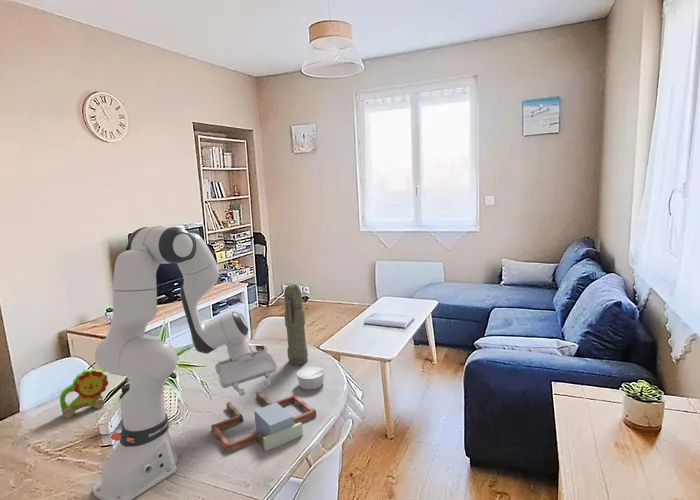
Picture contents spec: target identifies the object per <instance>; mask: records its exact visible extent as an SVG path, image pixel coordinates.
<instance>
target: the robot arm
mask: <svg viewBox="0 0 700 500" xmlns="http://www.w3.org/2000/svg"><path fill="white" fill-rule="evenodd" d="M126 243H127V244H126V247H125V251H123V252H121V253H120V254H119V255H118V256H117V257H116V259H115V260H116V261H115V266H114V271H113V277H112V278H113V280H112V316H111V317H112V319H111V323H110V327H109V330H108V333H107V334H106V336H105V338H103V340H102V341H101V342H99V343H98V345H97V346H96V349H95V353H94V362H95V363H96V365H97V367H98V368H100V370H101V369H102V370H103V371H104V372H107V373H109V374H111V375H115V376H121V377H127V378H128V380H129V383H130V389H129V391H128V392H127V393H126V394H125V395H124V396H123V397H122V399H121V403H120V402H119V404H121V406H120V412H121V411H122V414H121V418H122V417H123V419H122V423H123V425H122V427H121V433H120V432H116V431H113V433H111V435H110V439H111V440H112V441H116V442H117V441H119V443H118V444H117V445H116V446H115V448H114V450H113V451H112V452H111V454H110V455H109V457H108V458H107V459H106V461H105V462H104V463H103V465H102V468H101V473H100V476H101V478H100V480H99V481H97V482H96V483H95V484H94V485H93V486H92V493H94V494H93V495H94V496H95V498H97V499H99V500H133V499H135V498H137V497H138V496H140V495H141V494H143V493H145V492H146V491H148V490H149V489H151V488H152V487H154V486H156V485H157V484H159V483H160V482H162V481H164V480H165V479H166V478H167V479H168V477H171V476H172V474H175V473H176V472H177V470H178V468H177V462H178V459H179V458H178V454H177V453H176V450H175V449H174V446H173V443H172V439H171V436H170V432H169V427H170V424H169V417H168V414H167V412H166V408H165V407H166V406H165V399H164V397H165V396H164V389H165V383H166V380H167V379H168V377H170V376H171V375H172V374H173V373H174V371H175V369H176V368H177V365H178V359H179V358H178V353H177V350H176V348H175V347H174V346H173V345H172V344H170V343H167V342H165V341H162V340H160V339H154V338H148V337H147V338H145V333H146V329H147V326H148V323H150V322H151V321H153V320H154V319H155V318H156V316H157V313H158V289H157V287H158V285H157V271H158V269H159V266H160V265H161V264H162V265H164V264H174V265H175V264H176V265H177V266H178V269H179V270H180V272H181V275H182V277H183V283H182V286H181V287H180V288H179V292H180V293H179V294H180V299H181V303H182V307H183V311H184V314H185V317H186V320H187V324H188V328H189V330H190V336H191V342H192V346H193V347H194V349H195V350H196V351H197V352H198V353H202V354H206V355H208V354H210V353H211V352H214V351H215V350H216V349H218V348H220V347H222V346H226V352H227V355H228V359H225V360H222V361H218V362H217V363H216V364H215V366H214V370H215V371H216V374H218V380H219V384H220V387H221V388H223V389H227V388H230V387H232V389H233V390H235V391H236V392H237V393H238V395H239V397H242V396H245V394H246V392H245V389H244V388H241V387H239V385H240V384H243V383H245V382H249V381H252V380H255V379H257V378H258V379H260V378H261V377H264V378H265V379H266V380H265V381H264V383H263V385H264V387H265V388H269V387H270V386H271V382H270V378H271V374H274V373H275V372H276V371H277V368H278V364H277V362H276V359H275V358H274V356H273V354H272V353H271V352H270V351H268V347H267V345H265V344H253V343H252V341H251V340H250V339H249V334H248V332H249V328H248V327H249V326H248V325H247V323H246V320H245V319H246V318H245V317H244V315H243V314H242V313H240V312H237V311H236V312H235V311H230V312H227V313H225V314H223V315H220V316H218V317H216V318H214V319H211V320H209V321H207V322H201V318H200V313H199V311H198V308H197V305H198V303H199V302H200V300H201V299H202V298H203V297H204V296H205V295H206V294H208V292H210V291H211V290H212V289H213V288H214V287H215V285H216V284H217V282H218V280H219V277H220V270H219V267H218V264H217V261H216V259H215V257H214V255H213V253H212V251H211V250H210V248H209V246H208V245H207V243H206V241H204V239H203V238H202V236H200V235H199V234H197V233H195V232H189V231H188V230H186V229H184V228H182V227H178V226H163V225H157V226H156V225H155V226H154V225H153V226H145V227H144V226H143V227H139V228H138V229H136V230H134V231H133V232H132V233H131V235H129V238H128V240H127V242H126Z"/></svg>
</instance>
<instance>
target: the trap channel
mask: <svg viewBox="0 0 700 500" xmlns="http://www.w3.org/2000/svg"><path fill="white" fill-rule="evenodd" d="M255 394H256V395H255V396H256V399H257V400H259V402H261V403H262V404H263V405H264V407H265V406H268V405H270V404H273V403H276V402H277V403H278V404H279V405H280V406H281V407H285V406H286V405H289V404H292V403H295V404H296V405H297V406H298V407H299V408H301V409H302V411H304V413H302V414H299V415H296V416H293V419H294V424H297V423H299V422H301V423H303V422H306V421H308V420H310V419H312V418H315V417H317V410H316V409H314V408H313V407H311V406H310V405H309V404H308V403H306V402H305V401H304V400H303V399H301V398H300V397H298V396H297V395H296V394H292V395H290V396H287V397H285V398H281V399H278V400H277V401H274V402H272V401H270V399H268V398H267V397H266V396H264V394H263V393H261V391H257V392H255ZM225 405H226V408H227V410H228V411H229V412H230V413H231V414H232V416H233V417H230V418H228V419H225V420H222V421H219V422H217V423H214V424H211V432H212V434H213V435H214V436H215V437H216V439H217V440H218V441H219V442H220V444H221V445H222V447H223V448H224V449H225V450H226V452H227V453H228V454H229V453H231V452H234V451H236V450H238V449H240V448H243V447H246V446H248V445H250V444H252V443H255V442H257V443H258V445H260V447H261V448H262V449H263V450H264V441H263V436H262V435H261V434H260V433H259V432H258V431H257V432H255V433H252V434H250V435H247V436H245V437H242V438H240V439H238V440H235V441H233V442H229V440H228V438H227V437H225V435H224V434H223V433H222V431H221V430H223V429H226V428H228V427H231V426H233V425H236V424H239V423H242V422H243V421H244V416H243V415H242V413H241V412H240V411H239V410H238V409H237V408H236V407H235V406H234V404H232V403H231V402H230V401H228V402H226V404H225Z"/></svg>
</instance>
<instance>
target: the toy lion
mask: <svg viewBox="0 0 700 500" xmlns="http://www.w3.org/2000/svg"><path fill="white" fill-rule="evenodd" d="M108 385H109V380H108V376H107V373H105V372H103V371H102V370H101V369H96V368H91V369H84V370H83V371H82V372H80V373H78V374H77V375H76V376H75V378H74V379H73V381H72V384H70V385H68V386H67V387H65V388H64V389H63V391H62V392H61V394H60V397H59V403H60V408H61V413H62V416H63V418H66V419H70V418H72V417H73V416H74V415H75V412H76V411H78V410H80V409H83V408H86V407H94V408H95V409H98V410H100V409H102V408H103V407H104V406H105V405H103V406H102V403H103V401H105V400H104V397H103V395H102V393H104V392H105V391H106V390H107V386H108ZM72 392H74V393H77V395H78V396H77V397H76V398H74V399H73V400H72V401H71V403H70V402H68V403H67V402H66V397H67V395H68V394H69V393H72Z"/></svg>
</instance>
